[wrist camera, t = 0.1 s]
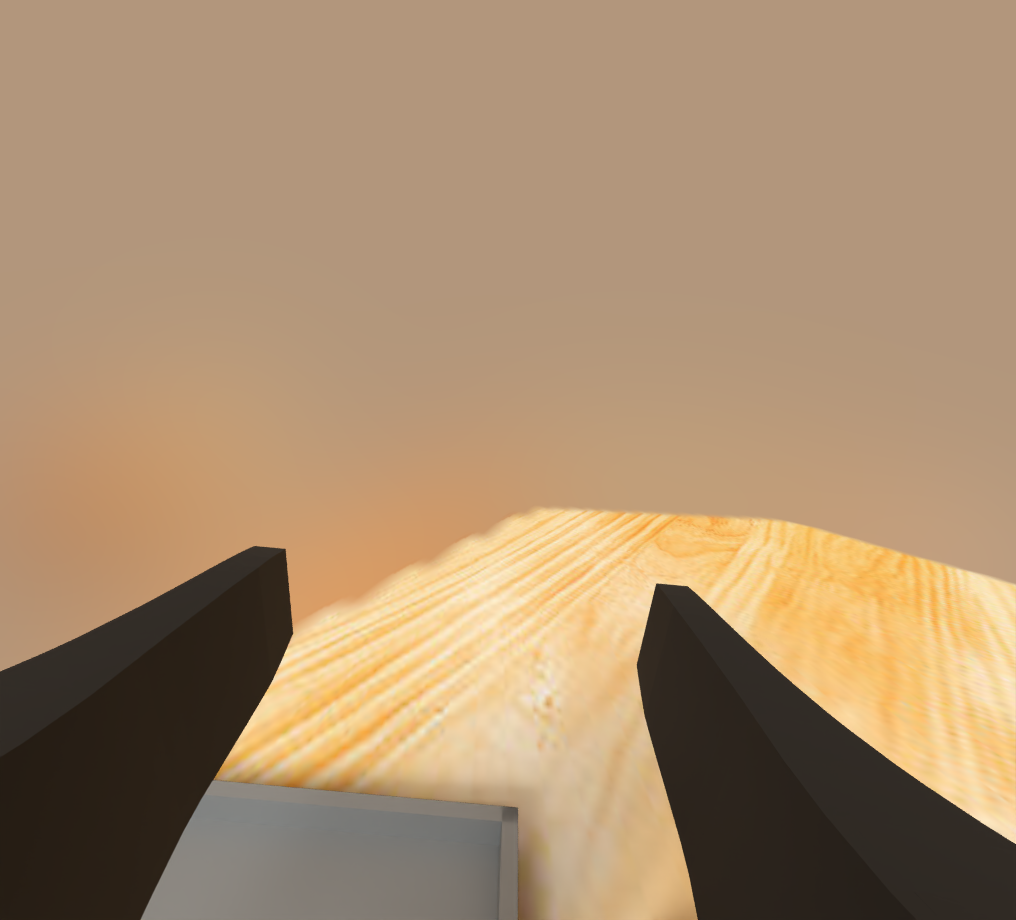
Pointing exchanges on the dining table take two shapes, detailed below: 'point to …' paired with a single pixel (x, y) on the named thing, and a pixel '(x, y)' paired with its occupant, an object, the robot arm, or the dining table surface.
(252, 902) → the tray
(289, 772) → the dining table surface
